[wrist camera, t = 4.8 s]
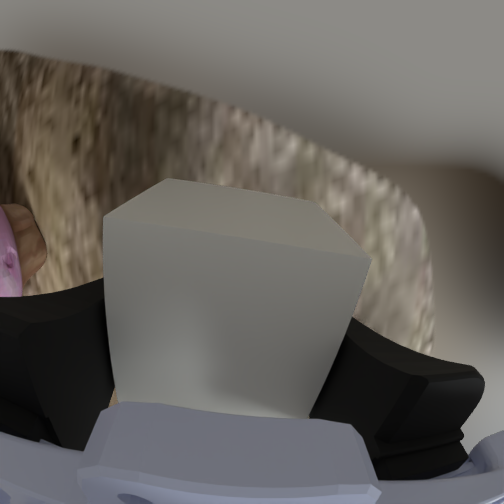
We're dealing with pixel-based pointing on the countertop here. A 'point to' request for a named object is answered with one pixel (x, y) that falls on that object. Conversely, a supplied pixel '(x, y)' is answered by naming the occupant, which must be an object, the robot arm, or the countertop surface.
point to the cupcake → (18, 249)
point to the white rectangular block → (226, 298)
